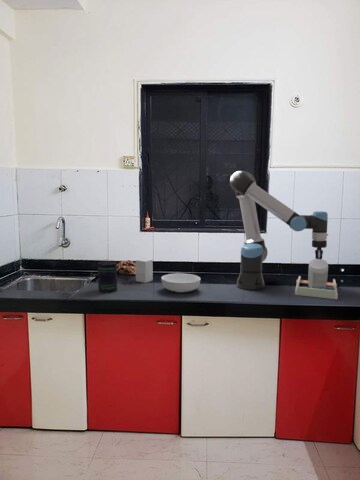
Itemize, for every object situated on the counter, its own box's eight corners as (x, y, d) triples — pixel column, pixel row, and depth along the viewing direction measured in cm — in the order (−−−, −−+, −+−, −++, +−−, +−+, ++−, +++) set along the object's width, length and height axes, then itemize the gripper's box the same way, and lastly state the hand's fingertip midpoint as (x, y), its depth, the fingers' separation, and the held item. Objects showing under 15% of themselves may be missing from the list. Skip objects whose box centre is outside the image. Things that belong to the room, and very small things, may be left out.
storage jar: (110, 287, 193) (110, 260, 191) (121, 290, 186) (120, 262, 184) (94, 290, 186) (94, 262, 184) (104, 294, 179) (104, 265, 177)
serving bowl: (175, 298, 173) (175, 284, 172) (154, 288, 191) (154, 276, 190) (208, 292, 185) (208, 279, 184) (185, 283, 202) (186, 271, 201)
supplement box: (153, 280, 208) (153, 259, 206) (145, 283, 202) (145, 261, 200) (143, 278, 212) (143, 258, 210) (135, 281, 206) (135, 260, 204)
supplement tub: (330, 285, 190) (332, 264, 182) (318, 293, 186) (320, 271, 178) (315, 277, 197) (317, 256, 189) (303, 285, 193) (305, 263, 185)
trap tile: (296, 282, 206) (296, 282, 206) (296, 280, 212) (296, 279, 212) (337, 286, 198) (337, 286, 198) (336, 283, 204) (336, 283, 204)
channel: (294, 294, 181) (295, 287, 180) (298, 280, 212) (298, 273, 212) (337, 299, 173) (337, 291, 173) (334, 283, 205) (335, 276, 204)
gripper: (327, 241, 185) (325, 285, 188) (326, 238, 197) (324, 279, 200) (312, 241, 188) (310, 284, 191) (312, 238, 199) (310, 278, 203)
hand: (317, 281), depth 196 cm, fingers closed
